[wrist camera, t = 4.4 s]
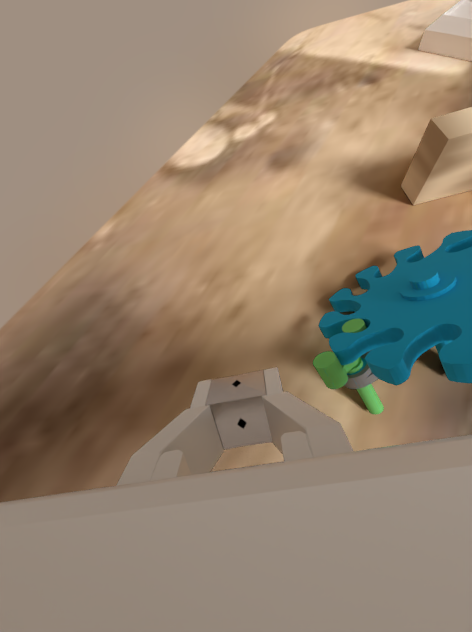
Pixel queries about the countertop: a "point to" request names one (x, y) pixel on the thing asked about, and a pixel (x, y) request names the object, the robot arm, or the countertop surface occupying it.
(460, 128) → the carrier pocket
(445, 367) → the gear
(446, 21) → the soap bar
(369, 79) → the countertop surface
